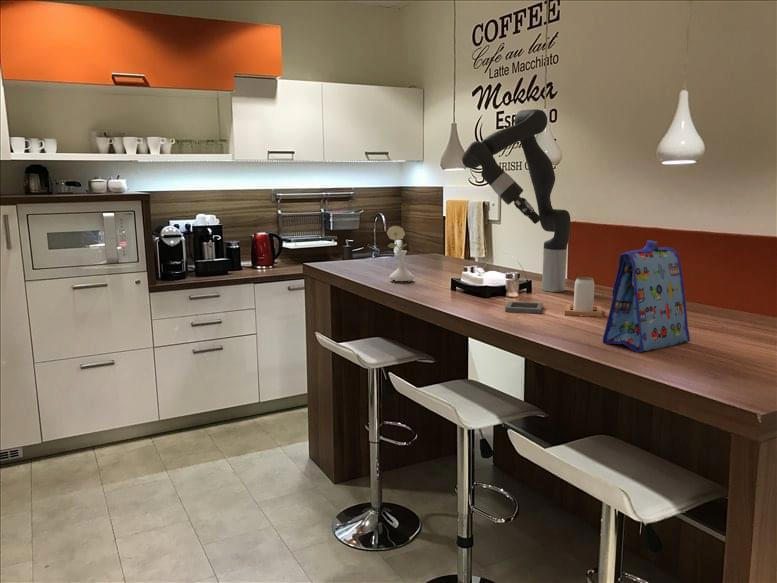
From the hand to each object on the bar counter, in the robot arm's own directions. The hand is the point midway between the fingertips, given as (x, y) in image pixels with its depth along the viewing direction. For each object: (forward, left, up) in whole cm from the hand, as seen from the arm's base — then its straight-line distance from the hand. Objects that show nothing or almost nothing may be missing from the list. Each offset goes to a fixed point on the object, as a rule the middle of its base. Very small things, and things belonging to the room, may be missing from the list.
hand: (538, 221), depth 228 cm
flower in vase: (-42, -62, -31) cm, 81 cm away
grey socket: (+6, -3, -31) cm, 31 cm away
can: (+6, +17, -31) cm, 35 cm away
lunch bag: (+44, +34, -31) cm, 63 cm away
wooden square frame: (+6, +17, -31) cm, 35 cm away
